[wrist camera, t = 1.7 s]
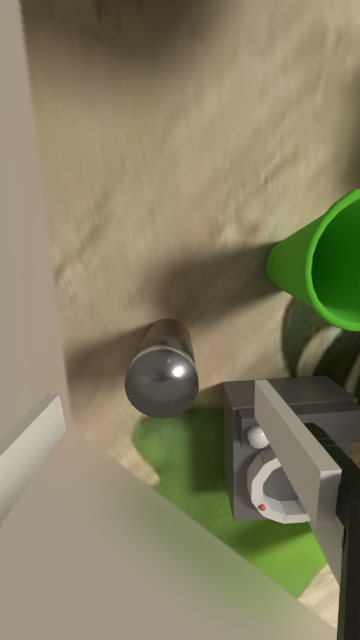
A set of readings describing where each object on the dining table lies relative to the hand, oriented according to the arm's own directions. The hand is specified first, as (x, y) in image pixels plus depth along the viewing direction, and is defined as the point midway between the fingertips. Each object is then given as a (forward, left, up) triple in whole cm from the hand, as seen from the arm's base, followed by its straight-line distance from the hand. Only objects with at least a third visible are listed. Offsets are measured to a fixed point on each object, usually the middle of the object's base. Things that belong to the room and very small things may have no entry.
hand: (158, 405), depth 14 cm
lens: (0, 0, -12) cm, 12 cm away
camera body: (+14, +13, -12) cm, 22 cm away
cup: (-8, +14, -12) cm, 20 cm away
